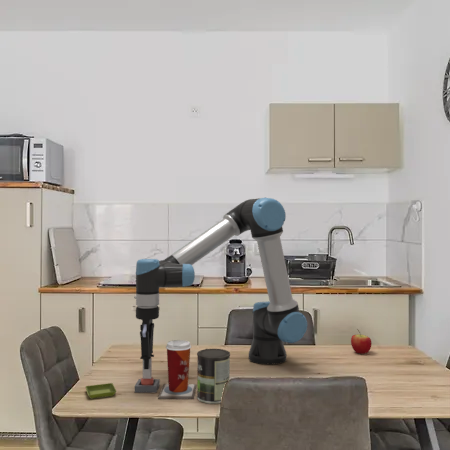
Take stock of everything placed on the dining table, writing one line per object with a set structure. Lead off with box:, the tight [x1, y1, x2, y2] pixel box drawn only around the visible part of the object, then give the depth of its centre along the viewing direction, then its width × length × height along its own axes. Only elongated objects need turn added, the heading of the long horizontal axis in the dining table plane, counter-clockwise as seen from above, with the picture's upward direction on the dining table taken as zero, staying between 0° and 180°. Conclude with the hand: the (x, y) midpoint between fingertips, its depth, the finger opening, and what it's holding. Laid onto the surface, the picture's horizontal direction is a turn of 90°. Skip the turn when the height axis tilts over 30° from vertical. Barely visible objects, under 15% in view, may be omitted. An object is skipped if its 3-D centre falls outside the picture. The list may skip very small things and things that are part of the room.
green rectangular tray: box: [85, 382, 117, 400], centre depth 153 cm, size 9×9×2 cm
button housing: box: [134, 378, 161, 394], centre depth 158 cm, size 7×7×2 cm
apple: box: [350, 328, 372, 355], centre depth 201 cm, size 8×8×10 cm
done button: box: [140, 376, 154, 385], centre depth 158 cm, size 4×4×3 cm
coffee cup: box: [165, 339, 192, 392], centre depth 155 cm, size 8×8×15 cm
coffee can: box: [196, 348, 231, 405], centre depth 150 cm, size 10×10×14 cm
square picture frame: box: [157, 383, 197, 400], centre depth 155 cm, size 11×12×1 cm
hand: (147, 377), depth 158 cm, fingers closed
